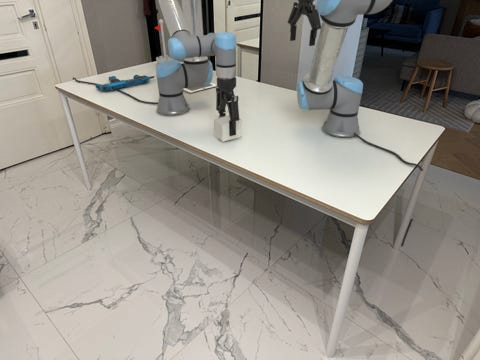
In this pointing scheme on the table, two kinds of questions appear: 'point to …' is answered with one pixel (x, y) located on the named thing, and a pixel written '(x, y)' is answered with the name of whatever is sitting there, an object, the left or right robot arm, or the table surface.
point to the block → (226, 128)
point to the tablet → (199, 88)
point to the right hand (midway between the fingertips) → (302, 43)
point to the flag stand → (161, 58)
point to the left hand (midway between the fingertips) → (227, 131)
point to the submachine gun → (122, 82)
